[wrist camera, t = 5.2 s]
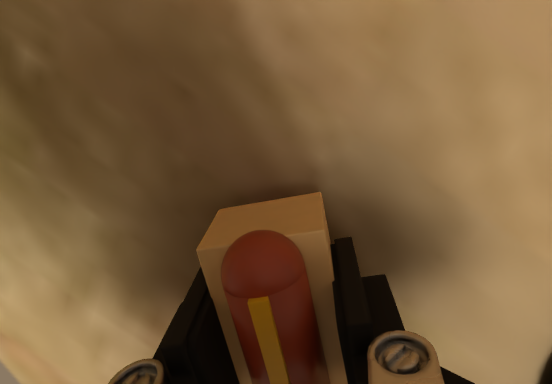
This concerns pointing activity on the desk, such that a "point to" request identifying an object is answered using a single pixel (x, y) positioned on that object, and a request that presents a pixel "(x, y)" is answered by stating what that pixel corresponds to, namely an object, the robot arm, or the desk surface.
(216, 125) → the desk surface
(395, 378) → the robot arm
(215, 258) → the hot dog
